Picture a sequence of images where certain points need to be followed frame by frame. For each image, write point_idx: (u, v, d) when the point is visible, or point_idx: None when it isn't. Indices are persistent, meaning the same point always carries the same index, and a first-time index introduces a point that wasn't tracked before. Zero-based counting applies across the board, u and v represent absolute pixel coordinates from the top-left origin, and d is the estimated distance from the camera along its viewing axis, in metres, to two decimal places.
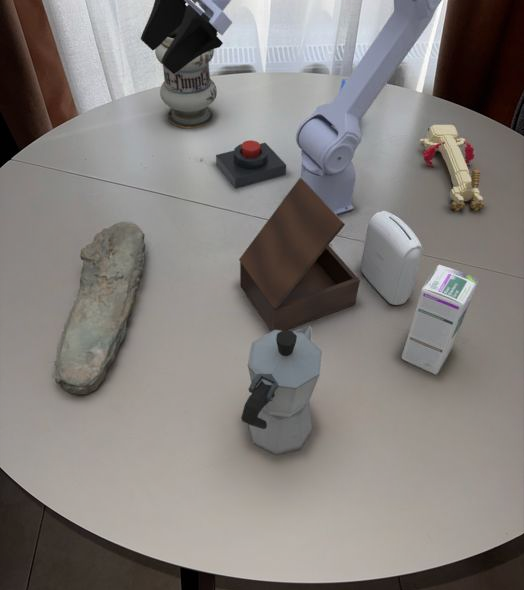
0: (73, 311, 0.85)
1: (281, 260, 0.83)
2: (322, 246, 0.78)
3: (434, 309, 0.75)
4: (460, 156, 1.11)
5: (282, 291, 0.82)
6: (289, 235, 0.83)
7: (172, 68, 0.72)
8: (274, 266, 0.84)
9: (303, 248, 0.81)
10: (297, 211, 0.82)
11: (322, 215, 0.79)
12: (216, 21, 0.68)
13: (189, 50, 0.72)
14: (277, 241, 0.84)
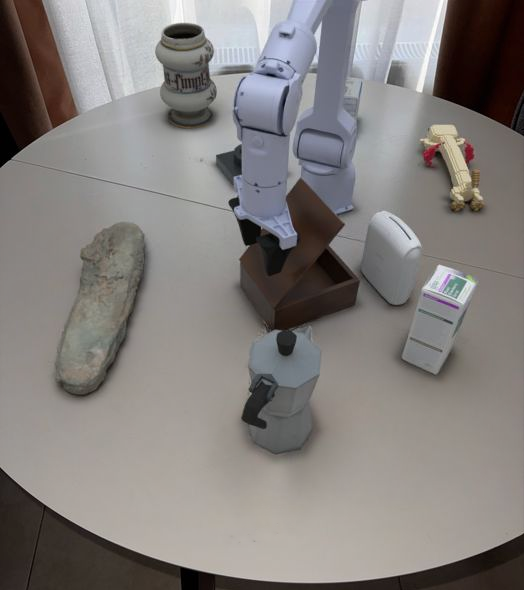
0: (73, 311, 0.85)
1: None
2: (322, 246, 0.78)
3: (434, 309, 0.75)
4: (460, 156, 1.11)
5: (282, 291, 0.82)
6: None
7: (277, 271, 0.80)
8: None
9: (303, 248, 0.81)
10: (297, 211, 0.82)
11: (322, 215, 0.79)
12: (284, 245, 0.72)
13: (280, 255, 0.78)
14: None
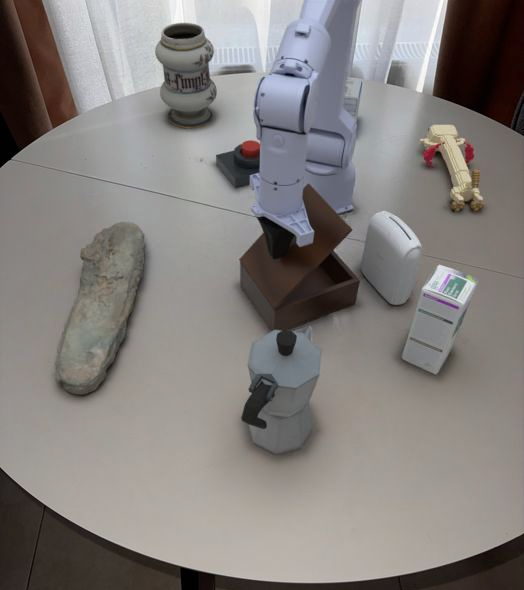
0: (73, 311, 0.85)
1: (284, 262, 0.84)
2: (328, 249, 0.79)
3: (434, 309, 0.75)
4: (460, 156, 1.11)
5: (284, 291, 0.82)
6: (294, 238, 0.84)
7: (281, 255, 0.83)
8: (276, 267, 0.84)
9: (308, 250, 0.82)
10: None
11: (329, 220, 0.81)
12: (301, 242, 0.73)
13: (284, 238, 0.81)
14: None
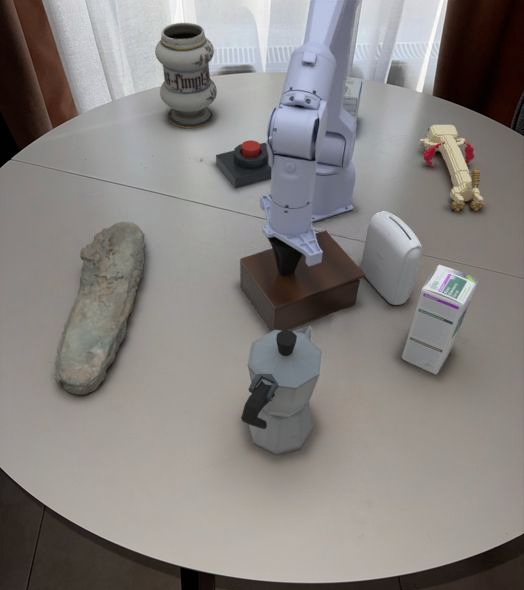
0: (73, 311, 0.85)
1: (292, 276, 0.87)
2: (341, 282, 0.86)
3: (434, 309, 0.75)
4: (460, 156, 1.11)
5: (289, 298, 0.84)
6: None
7: (290, 272, 0.87)
8: (283, 277, 0.87)
9: (319, 276, 0.87)
10: None
11: (345, 262, 0.89)
12: (310, 262, 0.77)
13: (293, 256, 0.84)
14: None
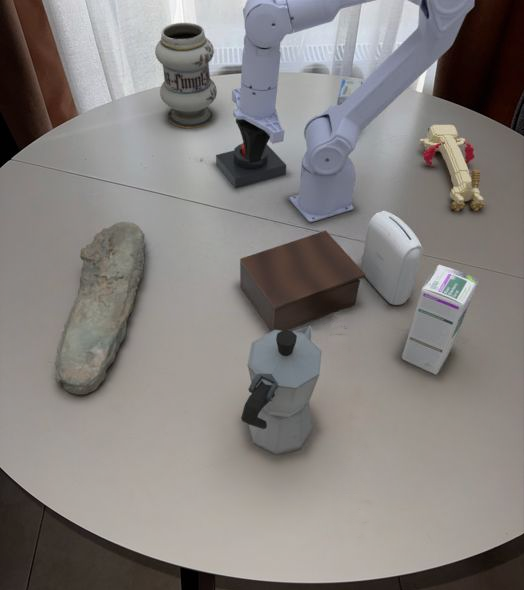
0: (73, 311, 0.85)
1: (292, 276, 0.87)
2: (341, 282, 0.86)
3: (434, 309, 0.75)
4: (460, 156, 1.11)
5: (289, 298, 0.84)
6: (306, 262, 0.89)
7: (257, 159, 1.00)
8: (283, 277, 0.87)
9: (319, 276, 0.87)
10: (318, 250, 0.91)
11: (345, 262, 0.89)
12: (274, 139, 0.90)
13: (259, 143, 0.97)
14: (291, 261, 0.89)
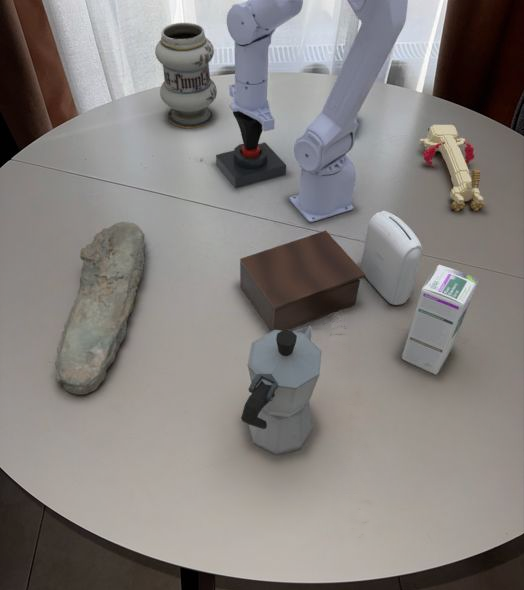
0: (73, 311, 0.85)
1: (292, 276, 0.87)
2: (341, 282, 0.86)
3: (434, 309, 0.75)
4: (460, 156, 1.11)
5: (289, 298, 0.84)
6: (306, 262, 0.89)
7: (253, 147, 1.11)
8: (283, 277, 0.87)
9: (319, 276, 0.87)
10: (318, 250, 0.91)
11: (345, 262, 0.89)
12: (265, 127, 1.01)
13: (255, 132, 1.09)
14: (291, 261, 0.89)
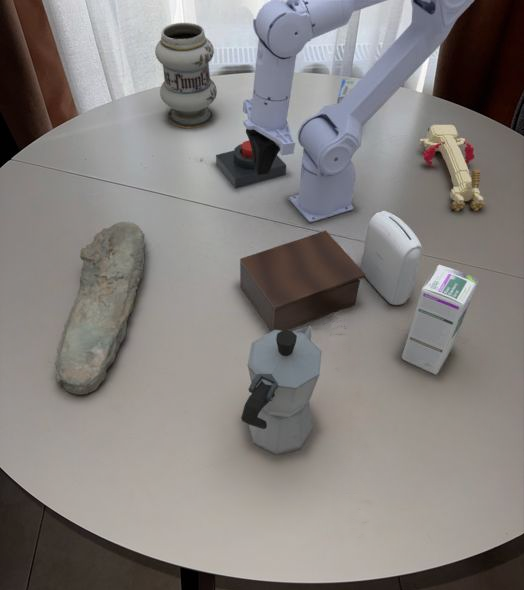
0: (73, 311, 0.85)
1: (292, 276, 0.87)
2: (341, 282, 0.86)
3: (434, 309, 0.75)
4: (460, 156, 1.11)
5: (289, 298, 0.84)
6: (306, 262, 0.89)
7: (265, 171, 0.97)
8: (283, 277, 0.87)
9: (319, 276, 0.87)
10: (318, 250, 0.91)
11: (345, 262, 0.89)
12: (284, 151, 0.88)
13: (269, 155, 0.95)
14: (291, 261, 0.89)
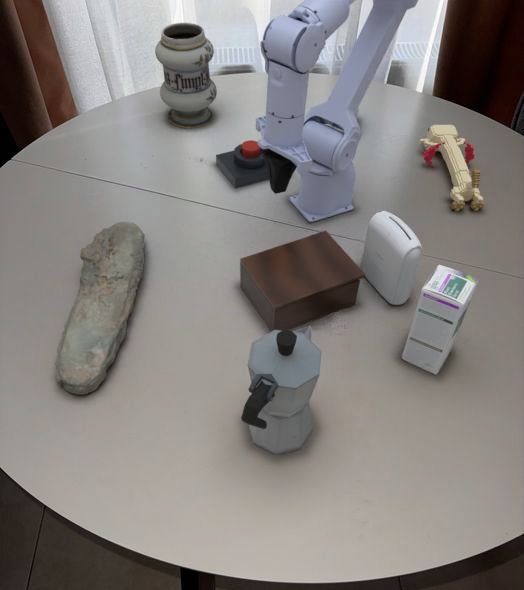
0: (73, 311, 0.85)
1: (292, 276, 0.87)
2: (341, 282, 0.86)
3: (434, 309, 0.75)
4: (460, 156, 1.11)
5: (289, 298, 0.84)
6: (306, 262, 0.89)
7: (282, 190, 0.94)
8: (283, 277, 0.87)
9: (319, 276, 0.87)
10: (318, 250, 0.91)
11: (345, 262, 0.89)
12: (301, 169, 0.85)
13: (285, 173, 0.92)
14: (291, 261, 0.89)
